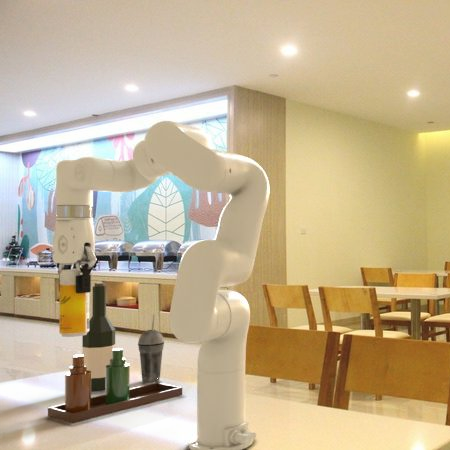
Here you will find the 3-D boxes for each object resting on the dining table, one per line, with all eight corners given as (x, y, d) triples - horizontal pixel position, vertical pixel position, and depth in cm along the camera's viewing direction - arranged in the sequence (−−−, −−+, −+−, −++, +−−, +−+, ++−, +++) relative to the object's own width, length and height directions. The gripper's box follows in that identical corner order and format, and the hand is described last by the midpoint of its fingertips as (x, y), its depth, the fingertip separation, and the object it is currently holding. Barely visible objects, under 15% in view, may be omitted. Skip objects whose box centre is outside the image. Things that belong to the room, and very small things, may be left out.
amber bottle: (95, 413, 145) (96, 355, 145) (72, 419, 140) (73, 359, 141) (83, 410, 148) (83, 352, 148) (60, 416, 143) (60, 356, 144)
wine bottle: (101, 394, 165) (102, 284, 166) (75, 393, 167) (75, 283, 168) (121, 387, 174) (122, 282, 174) (96, 385, 175) (96, 281, 176)
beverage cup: (131, 385, 176) (132, 315, 177) (149, 379, 183) (149, 312, 184) (152, 386, 174) (153, 316, 174) (169, 380, 181) (169, 313, 181)
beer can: (62, 333, 141) (62, 269, 142) (91, 332, 143) (91, 268, 144) (56, 337, 136) (56, 270, 136) (86, 336, 138) (87, 270, 138)
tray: (182, 397, 163) (182, 387, 163) (71, 426, 138) (72, 414, 138) (157, 391, 168) (157, 382, 168) (47, 418, 144) (47, 407, 144)
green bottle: (133, 404, 153) (134, 348, 154) (113, 409, 149) (113, 352, 149) (121, 401, 156) (121, 346, 157) (100, 406, 152) (101, 349, 152)
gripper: (38, 214, 142) (37, 292, 141) (80, 212, 133) (80, 295, 132) (70, 215, 148) (69, 289, 148) (112, 213, 139) (112, 292, 138)
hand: (74, 291), depth 140 cm, fingers closed on beer can, 6 cm apart
